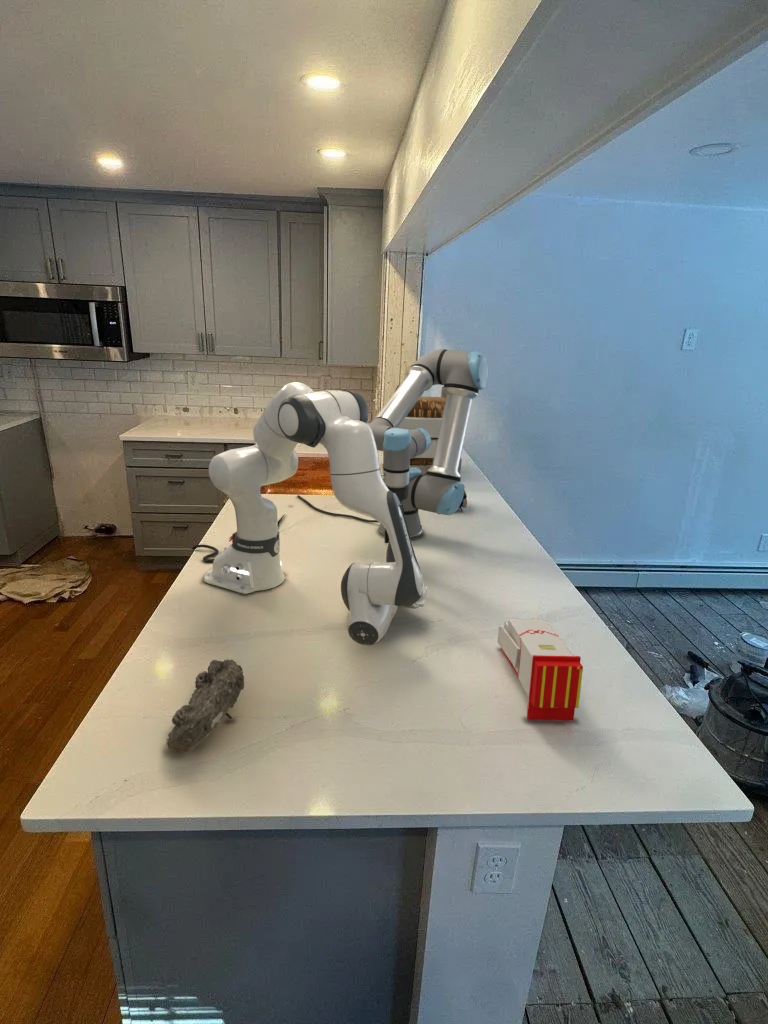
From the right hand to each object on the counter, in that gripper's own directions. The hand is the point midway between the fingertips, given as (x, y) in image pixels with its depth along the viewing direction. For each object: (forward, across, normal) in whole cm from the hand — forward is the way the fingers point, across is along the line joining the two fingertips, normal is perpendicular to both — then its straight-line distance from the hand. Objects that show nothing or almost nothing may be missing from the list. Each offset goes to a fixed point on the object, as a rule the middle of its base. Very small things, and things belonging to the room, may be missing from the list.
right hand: (393, 552), depth 168 cm
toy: (+6, +54, +21) cm, 58 cm away
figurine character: (+9, -57, +37) cm, 68 cm away
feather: (+7, -48, -32) cm, 58 cm away
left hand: (0, +16, -3) cm, 17 cm away
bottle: (+6, +18, -3) cm, 19 cm away
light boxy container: (+10, -107, +33) cm, 112 cm away
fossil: (+4, +59, -46) cm, 75 cm away
